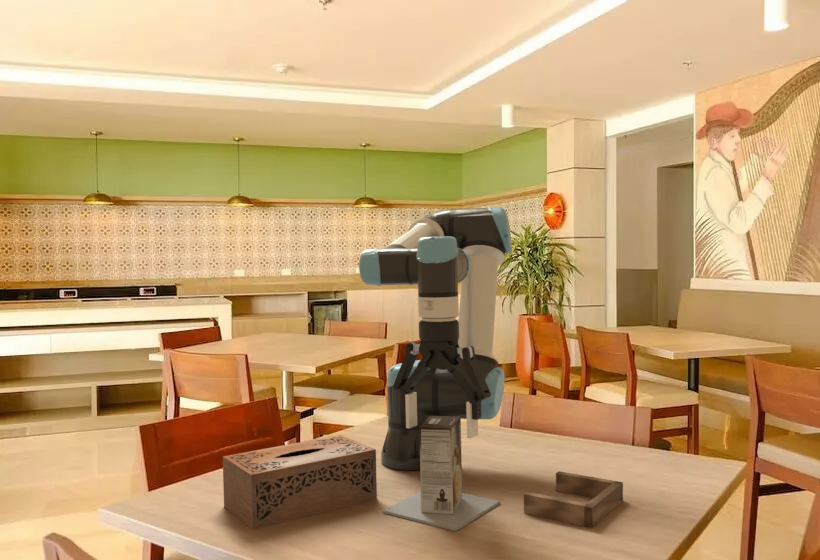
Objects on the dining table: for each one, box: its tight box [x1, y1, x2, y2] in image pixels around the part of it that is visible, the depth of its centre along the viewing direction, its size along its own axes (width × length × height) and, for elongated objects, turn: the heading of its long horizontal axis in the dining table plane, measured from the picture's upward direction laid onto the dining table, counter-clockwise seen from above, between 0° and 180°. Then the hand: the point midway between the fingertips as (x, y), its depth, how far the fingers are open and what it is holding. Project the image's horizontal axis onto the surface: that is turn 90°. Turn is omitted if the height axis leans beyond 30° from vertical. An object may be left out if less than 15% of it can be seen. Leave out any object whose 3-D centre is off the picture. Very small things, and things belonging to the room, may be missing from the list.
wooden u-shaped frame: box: [523, 471, 624, 528], centre depth 129 cm, size 13×16×4 cm
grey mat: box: [382, 490, 501, 532], centre depth 129 cm, size 16×16×1 cm
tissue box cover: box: [222, 434, 378, 530], centre depth 134 cm, size 26×14×10 cm, turn 125°
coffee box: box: [419, 416, 463, 515], centre depth 129 cm, size 9×6×16 cm
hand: (441, 431), depth 129 cm, fingers open, 13 cm apart
